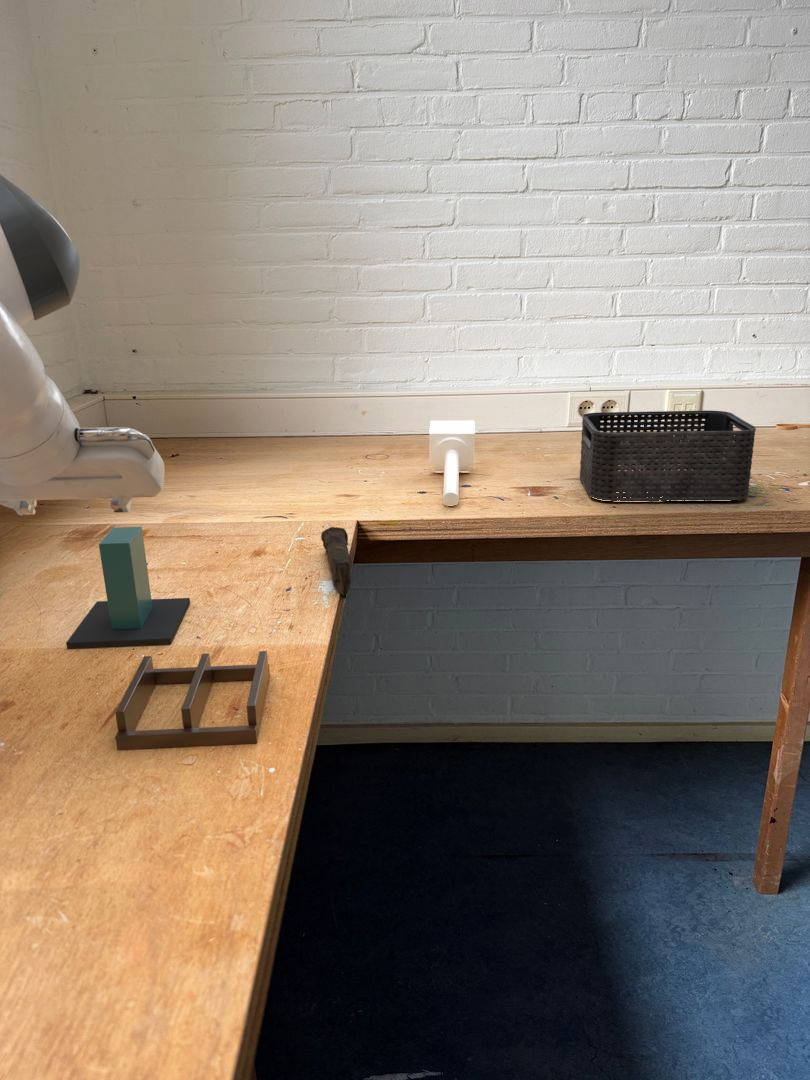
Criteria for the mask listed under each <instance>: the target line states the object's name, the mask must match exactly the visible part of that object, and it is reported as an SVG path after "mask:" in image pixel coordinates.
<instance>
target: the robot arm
mask: <svg viewBox="0 0 810 1080" xmlns="http://www.w3.org/2000/svg"><path fill="white" fill-rule="evenodd" d="M80 268H81V259H80V255H79V253H78V251H77V249H76V247H75V245H74V244H73V242H72V239H71V238H70V236H69V235H68V233H67V231H66V230H65V229H64V227H63V226H62V225H61V224H60V222H59V221H58V220H57V219H56V218H55V217H54V216H53V215H52V214H51V213H50V212H48V210H47V209H45V208H44V207H43V206H42V205H41V204H40V203H39V202H38V201H36V199H34V198H33V197H32V196H30V194H28V193H26V192H25V191H24V190H23V189H21V188H20V187H18V186H17V185H16V184H15V183H13V182H12V181H11V180H10V179H8V178H6V176H4V175H2V173H0V506H3V507H6V508H8V509H11V510H14V511H15V513H16V514H17V515H18V516H34V515H35V514H36V512H37V510H36V508H37V504H38V502H37V501H55V500H56V501H57V500H61V501H62V500H90V499H91V500H94V499H111V500H110V504H109V505H110V508H111V510H112V511H113V513H130V512H131V507H132V498H134V499H135V498H155V497H157V496H158V495H159V494H160V493H161V492H162V491H163V489H164V483H165V482H164V481H165V471H166V470H165V462H164V460H163V458H162V456H161V455H160V453H159V451H158V450H157V449H156V448H155V446H154V444H153V441H152V439H151V438H150V436H149V435H147V434H145V433H142V432H140V430H139V431H138V430H137V429H134V428H131V427H122V426H114V427H113V426H112V427H111V426H110V427H109V426H107V427H106V426H105V427H104V426H103V427H81V426H80V423H79V421H78V419H77V417H76V415H75V414H74V412H73V410H72V409H71V407H70V406H69V404H68V402H67V401H66V398H65V396H64V395H63V393H62V392H61V390H60V389H59V387H58V385H57V384H56V383H55V382H54V380H53V379H52V378H51V377H49V376H48V375H47V374H46V370H45V366H44V362H43V360H42V358H41V356H40V354H39V353H38V351H37V349H36V347H35V345H34V344H33V343H32V341H31V340H30V338H29V336H28V335H27V334H26V332H25V331H24V329H23V328H22V327H24V326H26V325H27V324H29V323H31V322H32V321H38V320H40V319H42V318H44V317H46V316H48V315H50V314H52V313H55V312H56V311H59V310H61V309H63V308H65V307H67V306H69V305H70V304H71V302H72V300H73V298H74V295H75V292H76V289H77V286H78V282H79V281H78V280H79V278H80V277H79V276H80Z"/></svg>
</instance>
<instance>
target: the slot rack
mask: <svg viewBox="0 0 810 1080" xmlns="http://www.w3.org/2000/svg"><path fill="white" fill-rule="evenodd" d="M211 663H212V662H211V653H202V654H201V655H200V659H199V661H198V664H197V666H191V667H190V666H189V667H166V668H154V663H153V656H152V655H145V656H143V657H142V660H141V662H140V664H139V666H138V667H137V669H136V671H135V673H134V675H133V677H132V679H131V681H130V682H129V684H128V686H127V689H126V690H125V693H123V694H124V695H123V696H122V698H121V701H120V702H119V703H118V705H117V707H116V710H115V712H114V713H115V715H114V716H115V720H116V727H117V732H116V734H115V743H116V750H117V751H125V750H127V751H128V750H144V749H147V750H148V749H165V748H188V747H205V746H206V747H207V746H228V745H247V744H248V745H249V744H250V745H251V744H257V743H258V740H259V733H260V729H261V723H262V720H263V714H264V709H265V703H266V698H267V693H268V689H269V682H270V678H271V670H270V664H269V660H268V651H267V650H260V651H259V652H258V657H257V660H256V664H238V665H237V664H236V665H212V664H211ZM234 681H235V682H237V681H238V682H239V681H252V682H251V685H250V690H249V695H248V699H247V703H246V715H247V724H248V725H230V726H209V727H208V726H207V727H199V725H200V722H201V719H202V716H203V713H204V709H205V708H206V707H205V706H206V703H207V701H208V697H209V695H210V691H211V689H212V685H213V683H214V682H234ZM169 684H170V685H171V684H190V685H189V687H188V690H187V693H186V696H185V698H184V700H183V703H182V706H181V709H180V711H181V720H182V728H166V729H165V728H163V729H145V730H136V729H137V726H138V724H139V721H140V719H141V717H142V715H143V713H144V711H145V709H146V706H147V704H148V702H149V700H150V698H151V697H152V693H153V692H154V689H155V687H156V685H169Z"/></svg>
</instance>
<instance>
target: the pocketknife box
mask: <svg viewBox="0 0 810 1080" xmlns="http://www.w3.org/2000/svg"><path fill="white" fill-rule="evenodd" d="M98 549H99V554H100V560H101V568H102V574H103V575H102V576H103V580H104V589H105V594H106V601H107V602H108V608H109V615H110V621H111V628H112V630H115V629H140V628H142V626H143V624H144V622H145V620H146V619H147V617H148V615H149V613H150V612H151V610H152V608H153V607H152V600H151V599H152V593H151V586H150V585H151V584H150V577H149V570H148V563H147V562H148V561H147V556H146V546H145V539H144V533H143V527H142V526H121V527H119V526H118V527H117V526H116V527H112V528H111V529H110V531H109V532H108V533H107V534H106V535H105V536H104V537H103V539H102V540H101V541H100V542H99V543H98Z"/></svg>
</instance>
